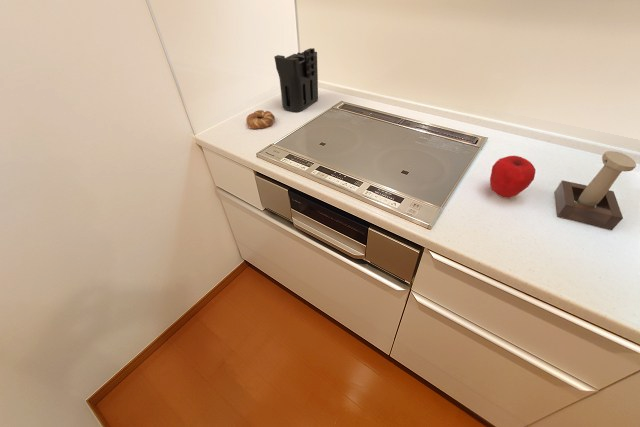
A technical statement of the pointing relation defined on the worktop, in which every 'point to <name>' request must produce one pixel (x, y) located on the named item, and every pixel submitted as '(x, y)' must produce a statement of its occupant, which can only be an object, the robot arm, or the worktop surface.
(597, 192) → the handle
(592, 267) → the worktop surface
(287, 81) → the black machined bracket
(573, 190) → the socket block
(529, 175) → the apple
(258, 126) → the brown bagel
